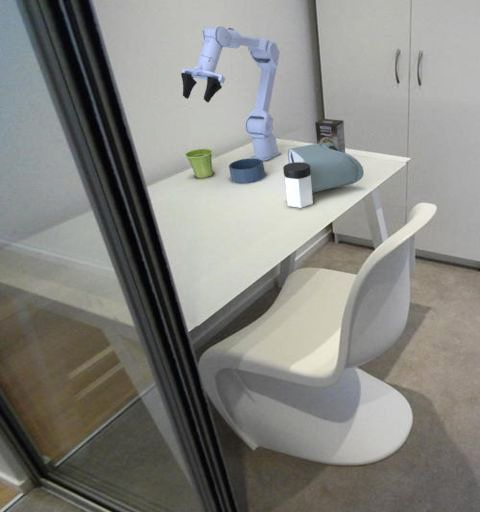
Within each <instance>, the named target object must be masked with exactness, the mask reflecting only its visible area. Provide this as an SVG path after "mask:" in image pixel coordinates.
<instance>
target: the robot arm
mask: <svg viewBox="0 0 480 512" xmlns="http://www.w3.org/2000/svg"><path fill="white" fill-rule="evenodd" d="M201 35H202V42H201V44H202V47H201V50H200V53H199V56H198V59H197V61H196V65H195V66H194V68H193V67H192V68H182V70H181V74H180V76H181V80H182V81H181V82H182V96H183V97H184V98H185V99H187V100H188V99H189V98H190V96H191V93H192V90H193V89H194V87H195V86H196V85H197V83H198V82H197V80H195V79H199V80H204V81H206V87H205V92H204V95H203V100H204V101H205V102H206V103H210V102H211V100H212V99H213V97H214V96H215V94H216V93H218V92H219V91H220V90H221V89H222V87H223V86H222V84H225V81H226V77H225V76H224V75H223V74H220V73H216V70H217V67H218V63H219V60H220V57H221V54H222V52H223V51H222V50H223V48H229V49H235V50H236V49H239V48H240V47H247V51H248V52H249V54H250V56H251V58H252V60H253V61H254V62H255V64H256V66H257V67H259V68H260V69H261V72H260V77H259V81H258V88H257V94H256V98H255V105H254V109H252V110H251V111H249V113H248V114H247V118H246V120H245V122H244V129H245V132H246V133H247V134H249V137H251V141H252V142H251V143H252V148H253V153H254V155H253V156H251V157H250V158H255V159H260V160H262V161H263V162H267V161H269V160H271V159H273V158H276V157H277V156H280V154H281V153H280V152H279V149H278V144H277V138H276V136H275V135H274V134H273V131H274V124H273V123H274V117H272V115H271V114H270V113H269V112H270V106H271V101H272V95H273V89H274V85H275V79H276V74H277V68H278V64H279V59H280V49H279V47H278V44H277V43H276V42H275V41H273V40H269V39H267V38H262V37H258V36H257V37H255V36H248V35H241V33H240V32H239V31H237V30H235V28H234V27H228V28H226V27H225V26H221V25H219V26H207V27H206V28H205V29H203V30H202V34H201Z"/></svg>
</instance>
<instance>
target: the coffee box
mask: <svg viewBox="0 0 480 512" xmlns="http://www.w3.org/2000/svg"><path fill="white" fill-rule="evenodd" d="M344 122H345V121H344V119H343V120H342V119H341V120H340V119H332V118H331V119H330V118H321V119H319V120H317V121H315V122H314V124H315V133H316V144H319V143H326V142H330V143H332V144H333V145H334V146H335V147H336V148H337V150H338V151H339V152H343V153H346V139H345V124H344Z"/></svg>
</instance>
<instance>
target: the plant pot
mask: <svg viewBox="0 0 480 512" xmlns="http://www.w3.org/2000/svg"><path fill="white" fill-rule="evenodd" d="M184 156H185V157H186V158H187V160H188V161H189V164H190V166H191V168H192V171H193V174H194V176H195V177H196V178H197V179H204V178H207V177H208V178H210V177H212V175H213V174H214V173H213V172H214V171H213V162H212V161H213V160H212V156H213V150H212V149H210V148H197V149H192V150H189V151H187V152H186V153H185V154H184Z"/></svg>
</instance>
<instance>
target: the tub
mask: <svg viewBox="0 0 480 512" xmlns="http://www.w3.org/2000/svg"><path fill="white" fill-rule="evenodd" d="M228 169H229V173H230V178H231V181H232V182H234V183H237V184H251V183H256V182H258V181H261V180H264V178H265V177H266V171H265V165H264V161H263V160H260V159H255V158H251V157H250V158H241V159H238V160H235V161H233V162H231V163H230V164H228Z"/></svg>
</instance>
